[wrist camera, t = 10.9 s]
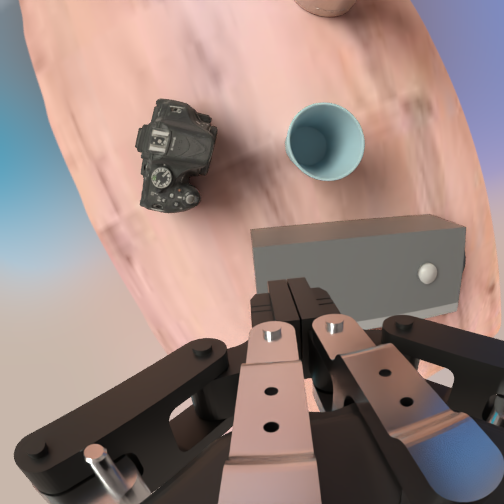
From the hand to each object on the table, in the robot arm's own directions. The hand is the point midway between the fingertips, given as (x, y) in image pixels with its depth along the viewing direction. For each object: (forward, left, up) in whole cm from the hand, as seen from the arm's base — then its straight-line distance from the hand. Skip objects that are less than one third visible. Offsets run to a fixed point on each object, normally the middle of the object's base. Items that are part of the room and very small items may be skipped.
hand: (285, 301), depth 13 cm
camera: (-7, -8, -29) cm, 31 cm away
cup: (-7, +7, -29) cm, 31 cm away
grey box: (+8, +12, -29) cm, 32 cm away
